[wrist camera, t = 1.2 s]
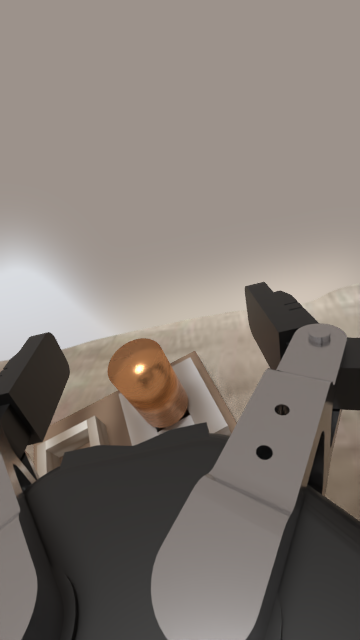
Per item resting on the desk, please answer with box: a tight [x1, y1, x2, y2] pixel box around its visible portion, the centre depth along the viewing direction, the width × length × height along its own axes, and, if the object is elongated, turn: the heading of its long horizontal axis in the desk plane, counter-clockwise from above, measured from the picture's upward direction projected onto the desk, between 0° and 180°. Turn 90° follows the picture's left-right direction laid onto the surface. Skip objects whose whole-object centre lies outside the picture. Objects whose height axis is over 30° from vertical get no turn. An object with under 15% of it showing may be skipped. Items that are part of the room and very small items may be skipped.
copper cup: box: [108, 339, 188, 428], centre depth 28 cm, size 5×5×11 cm
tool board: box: [34, 351, 237, 478], centre depth 31 cm, size 22×14×4 cm, turn 111°
